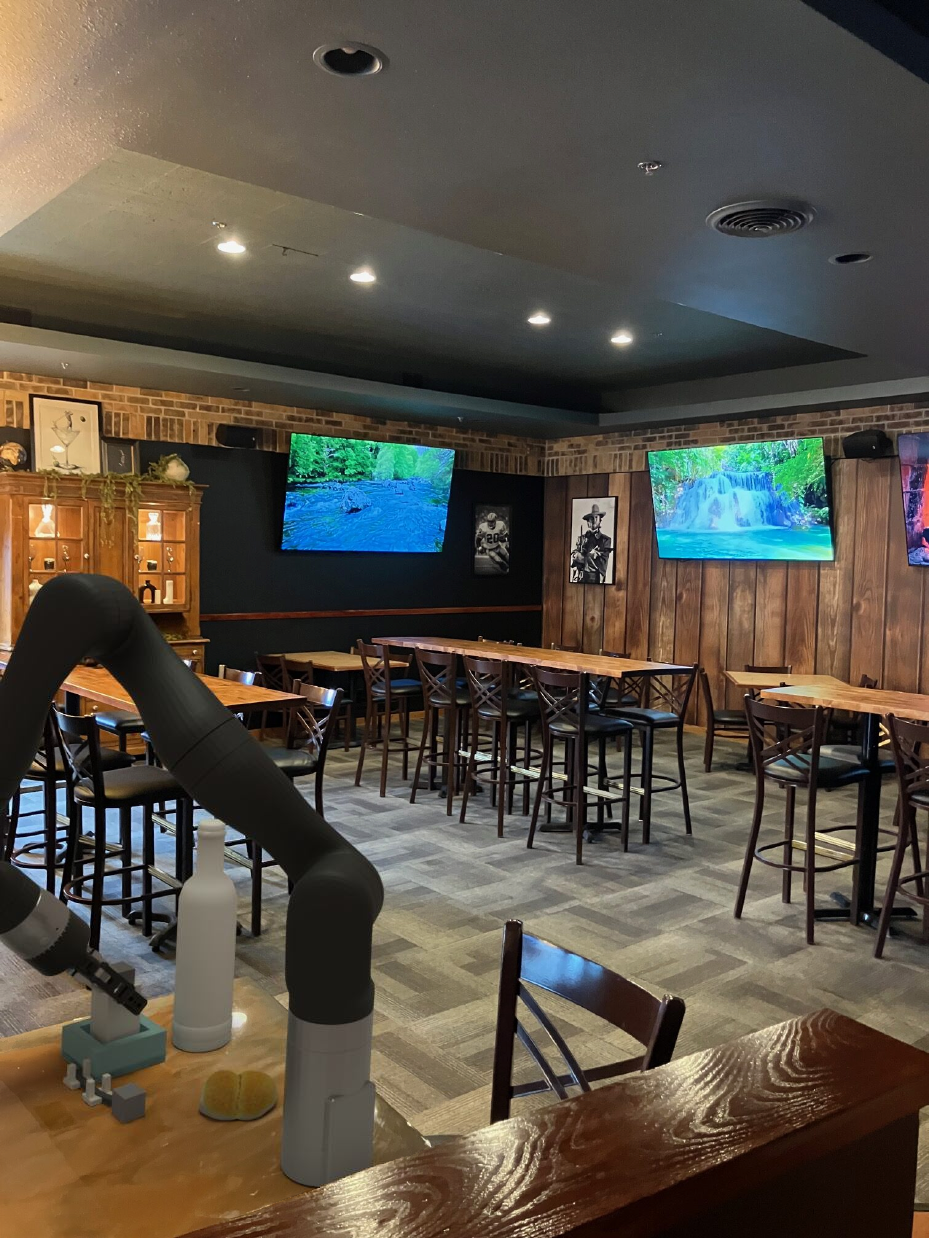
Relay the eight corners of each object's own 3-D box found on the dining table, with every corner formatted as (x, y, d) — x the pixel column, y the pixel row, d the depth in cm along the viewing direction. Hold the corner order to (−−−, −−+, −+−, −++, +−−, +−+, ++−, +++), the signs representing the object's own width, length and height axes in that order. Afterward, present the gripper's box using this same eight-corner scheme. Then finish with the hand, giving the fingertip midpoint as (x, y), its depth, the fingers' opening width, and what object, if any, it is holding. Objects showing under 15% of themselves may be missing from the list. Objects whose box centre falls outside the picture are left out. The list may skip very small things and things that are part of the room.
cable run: (144, 1115, 114) (145, 1091, 114) (114, 1126, 112) (115, 1102, 112) (89, 1070, 124) (90, 1048, 124) (60, 1079, 121) (61, 1057, 121)
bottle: (222, 1054, 130) (233, 830, 129) (163, 1051, 130) (174, 826, 129) (237, 1028, 138) (247, 816, 137) (181, 1024, 138) (191, 813, 137)
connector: (138, 1052, 127) (142, 968, 127) (105, 1063, 124) (109, 977, 124) (121, 1040, 130) (125, 958, 130) (89, 1050, 127) (92, 966, 127)
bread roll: (275, 1122, 115) (277, 1088, 115) (196, 1125, 113) (198, 1091, 113) (277, 1086, 123) (278, 1055, 123) (203, 1088, 121) (205, 1056, 121)
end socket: (165, 1060, 127) (166, 1030, 127) (95, 1084, 121) (96, 1052, 120) (129, 1034, 134) (130, 1006, 134) (61, 1056, 127) (62, 1025, 127)
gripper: (90, 919, 116) (173, 989, 125) (39, 889, 126) (119, 956, 135) (44, 974, 113) (132, 1043, 121) (-5, 939, 122) (80, 1005, 131)
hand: (125, 997), depth 128 cm, fingers open, 8 cm apart
